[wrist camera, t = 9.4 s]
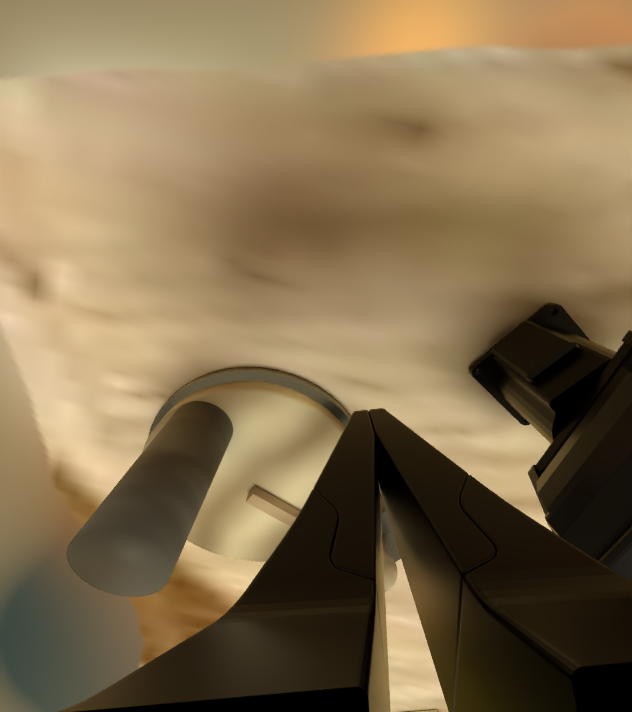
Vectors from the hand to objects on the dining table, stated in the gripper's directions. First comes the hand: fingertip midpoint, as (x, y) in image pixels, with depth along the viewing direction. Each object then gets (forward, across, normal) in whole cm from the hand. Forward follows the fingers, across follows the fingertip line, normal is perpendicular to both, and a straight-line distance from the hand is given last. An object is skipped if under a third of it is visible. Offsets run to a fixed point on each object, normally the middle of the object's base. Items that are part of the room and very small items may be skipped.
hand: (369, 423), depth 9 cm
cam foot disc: (+11, +6, +13) cm, 18 cm away
